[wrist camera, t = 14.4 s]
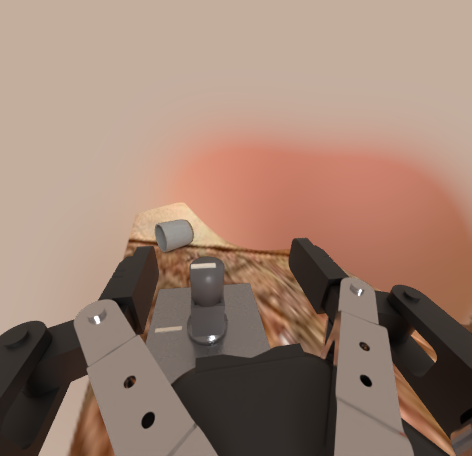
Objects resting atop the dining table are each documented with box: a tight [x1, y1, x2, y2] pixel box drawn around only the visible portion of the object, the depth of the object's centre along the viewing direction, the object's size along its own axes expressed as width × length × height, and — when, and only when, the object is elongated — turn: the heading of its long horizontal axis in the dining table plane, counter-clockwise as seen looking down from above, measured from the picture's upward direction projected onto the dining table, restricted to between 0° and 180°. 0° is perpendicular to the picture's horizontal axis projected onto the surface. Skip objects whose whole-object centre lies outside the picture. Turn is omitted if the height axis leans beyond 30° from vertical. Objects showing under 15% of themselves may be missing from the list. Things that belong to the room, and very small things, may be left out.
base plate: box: [145, 283, 270, 385], centre depth 31 cm, size 18×18×5 cm
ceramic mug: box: [155, 220, 194, 252], centre depth 54 cm, size 11×8×8 cm
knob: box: [190, 257, 225, 338], centre depth 29 cm, size 5×5×11 cm
